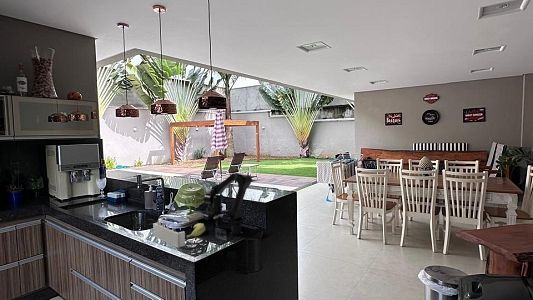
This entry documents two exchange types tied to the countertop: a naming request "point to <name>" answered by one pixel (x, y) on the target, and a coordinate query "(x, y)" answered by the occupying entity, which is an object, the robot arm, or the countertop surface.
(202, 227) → the banana
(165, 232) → the rack
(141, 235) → the countertop surface
